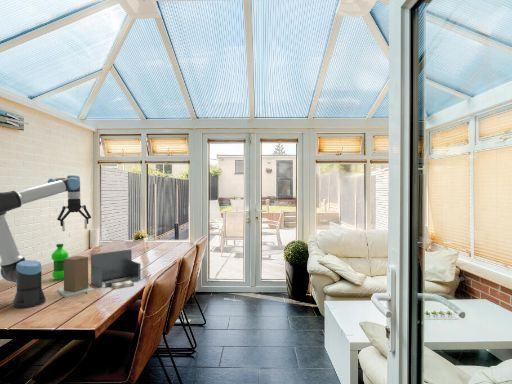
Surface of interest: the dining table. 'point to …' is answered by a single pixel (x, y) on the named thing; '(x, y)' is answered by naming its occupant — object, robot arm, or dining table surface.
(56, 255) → the plastic bottle
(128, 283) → the cream offcut
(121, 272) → the rack
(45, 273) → the dining table surface
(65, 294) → the sage mat
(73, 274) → the wooden block
